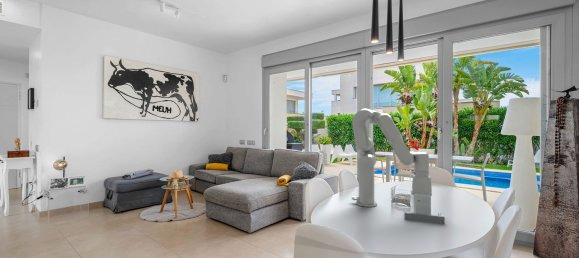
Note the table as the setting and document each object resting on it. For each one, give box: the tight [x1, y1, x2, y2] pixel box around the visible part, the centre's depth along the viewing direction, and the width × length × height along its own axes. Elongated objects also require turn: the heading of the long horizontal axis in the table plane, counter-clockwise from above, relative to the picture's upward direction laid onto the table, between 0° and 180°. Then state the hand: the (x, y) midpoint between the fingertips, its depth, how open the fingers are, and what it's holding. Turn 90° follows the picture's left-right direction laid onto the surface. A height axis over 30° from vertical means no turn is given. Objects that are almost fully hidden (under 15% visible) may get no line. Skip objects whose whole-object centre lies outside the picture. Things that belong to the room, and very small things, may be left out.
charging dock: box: [403, 209, 446, 225], centre depth 149 cm, size 18×13×4 cm
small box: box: [413, 193, 432, 215], centre depth 157 cm, size 8×6×10 cm
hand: (421, 205), depth 161 cm, fingers closed
